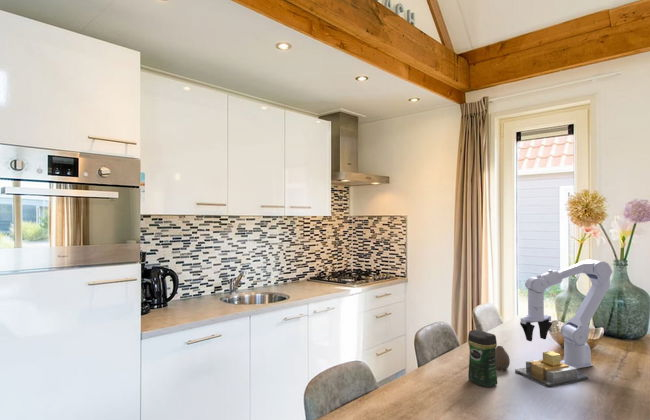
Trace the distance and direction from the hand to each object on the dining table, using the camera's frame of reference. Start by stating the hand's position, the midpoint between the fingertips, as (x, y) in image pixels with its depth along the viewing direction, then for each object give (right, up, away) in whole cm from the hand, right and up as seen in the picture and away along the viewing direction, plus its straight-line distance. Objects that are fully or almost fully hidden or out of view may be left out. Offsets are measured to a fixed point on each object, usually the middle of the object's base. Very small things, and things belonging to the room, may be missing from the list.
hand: (536, 339), depth 164 cm
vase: (-17, -10, -5) cm, 21 cm away
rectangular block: (-1, -9, -13) cm, 15 cm away
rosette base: (-1, -10, -12) cm, 16 cm away
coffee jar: (-29, -10, -19) cm, 36 cm away
